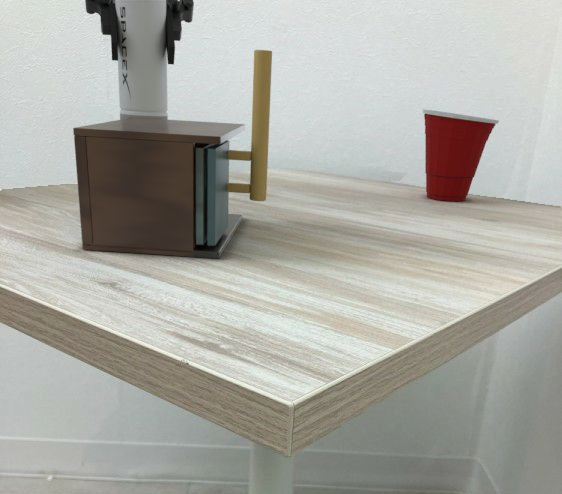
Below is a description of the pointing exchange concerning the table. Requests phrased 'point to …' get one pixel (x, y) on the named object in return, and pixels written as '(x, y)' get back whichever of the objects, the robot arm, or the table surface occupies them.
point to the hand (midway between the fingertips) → (143, 53)
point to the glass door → (241, 155)
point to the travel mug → (142, 58)
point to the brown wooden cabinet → (149, 186)
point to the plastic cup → (453, 152)
